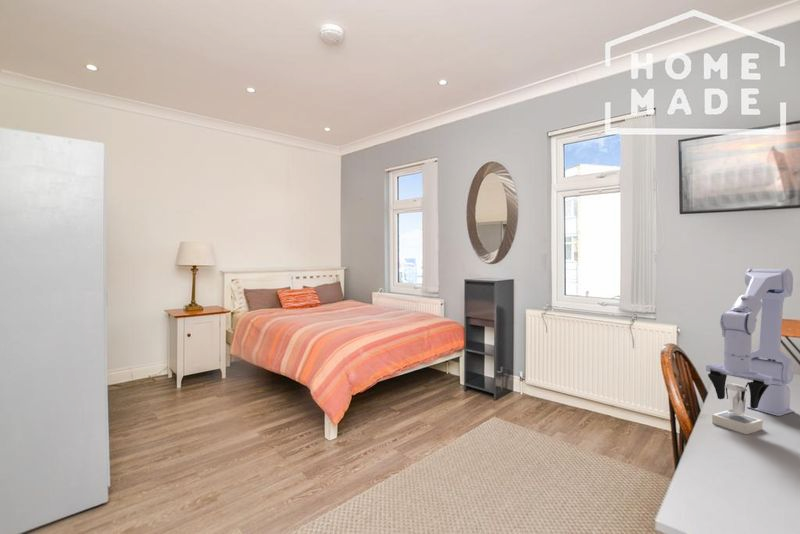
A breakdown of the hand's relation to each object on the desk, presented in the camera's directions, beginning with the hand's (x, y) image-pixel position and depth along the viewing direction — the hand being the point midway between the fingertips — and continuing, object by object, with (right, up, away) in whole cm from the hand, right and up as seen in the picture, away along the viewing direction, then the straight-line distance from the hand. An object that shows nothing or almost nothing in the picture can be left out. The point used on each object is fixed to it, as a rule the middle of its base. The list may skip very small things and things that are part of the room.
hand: (737, 403), depth 108 cm
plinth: (0, -7, 0) cm, 6 cm away
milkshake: (0, -4, 0) cm, 4 cm away
